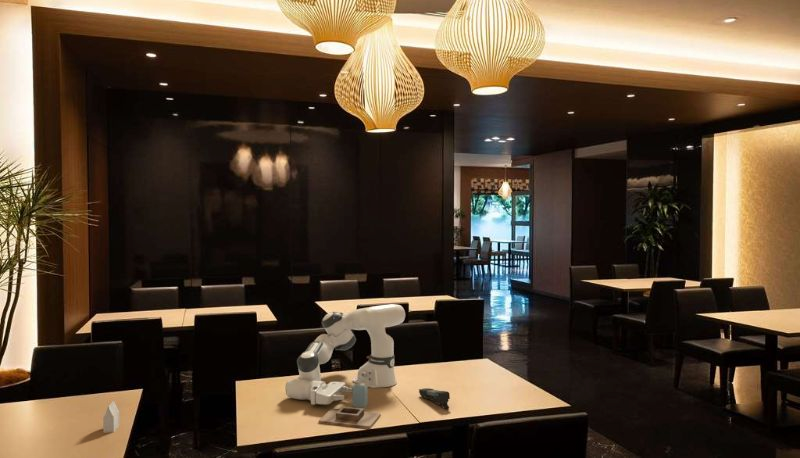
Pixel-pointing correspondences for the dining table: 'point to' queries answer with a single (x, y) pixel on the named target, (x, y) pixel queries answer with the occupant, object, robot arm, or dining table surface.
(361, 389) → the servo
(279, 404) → the dining table surface
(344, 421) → the walnut board
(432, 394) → the gun
